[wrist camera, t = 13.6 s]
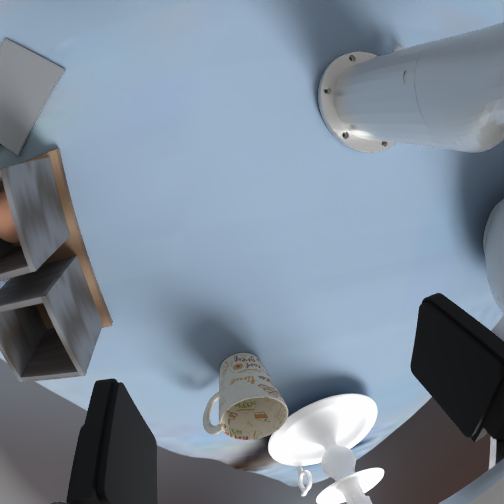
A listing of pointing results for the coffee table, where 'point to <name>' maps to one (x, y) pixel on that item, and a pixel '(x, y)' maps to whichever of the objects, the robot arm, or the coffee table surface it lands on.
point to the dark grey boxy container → (46, 277)
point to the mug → (246, 400)
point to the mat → (23, 92)
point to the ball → (7, 221)
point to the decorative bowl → (495, 253)
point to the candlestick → (329, 445)
